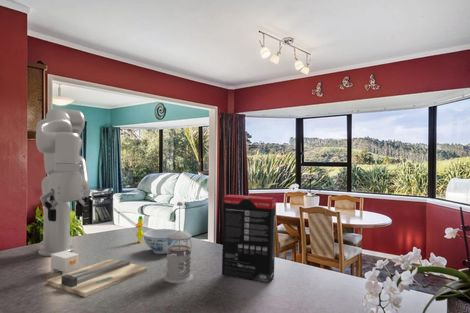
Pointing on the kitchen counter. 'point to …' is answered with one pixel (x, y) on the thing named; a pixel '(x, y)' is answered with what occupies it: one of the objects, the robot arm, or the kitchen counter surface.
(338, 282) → the kitchen counter surface
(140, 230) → the toy figure
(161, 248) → the chinaware
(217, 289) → the kitchen counter surface
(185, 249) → the french press
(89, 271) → the din panel
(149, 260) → the kitchen counter surface
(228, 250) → the graphics card box
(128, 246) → the kitchen counter surface
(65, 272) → the block
